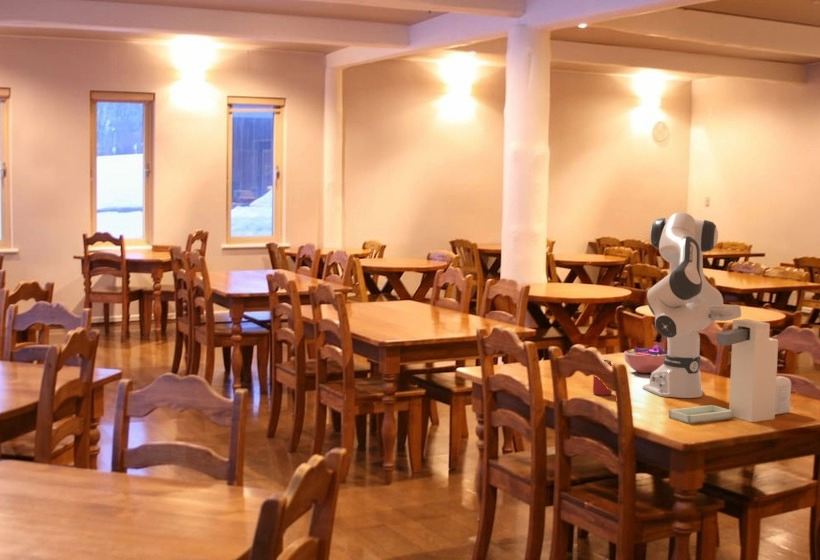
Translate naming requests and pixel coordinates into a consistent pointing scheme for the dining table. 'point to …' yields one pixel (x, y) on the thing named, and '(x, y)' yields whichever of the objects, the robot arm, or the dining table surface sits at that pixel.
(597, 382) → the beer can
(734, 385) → the white dispenser tower
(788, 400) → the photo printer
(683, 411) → the tray
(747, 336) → the drive caddy
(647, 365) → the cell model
